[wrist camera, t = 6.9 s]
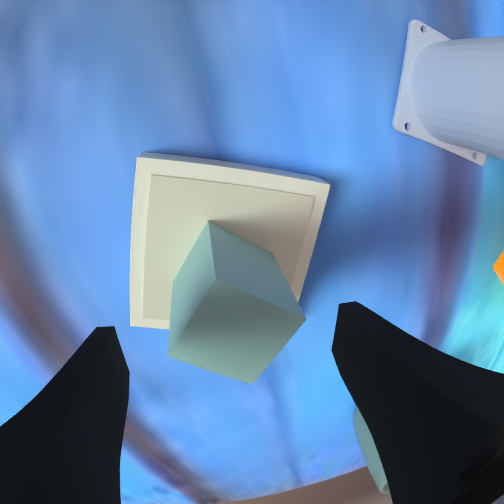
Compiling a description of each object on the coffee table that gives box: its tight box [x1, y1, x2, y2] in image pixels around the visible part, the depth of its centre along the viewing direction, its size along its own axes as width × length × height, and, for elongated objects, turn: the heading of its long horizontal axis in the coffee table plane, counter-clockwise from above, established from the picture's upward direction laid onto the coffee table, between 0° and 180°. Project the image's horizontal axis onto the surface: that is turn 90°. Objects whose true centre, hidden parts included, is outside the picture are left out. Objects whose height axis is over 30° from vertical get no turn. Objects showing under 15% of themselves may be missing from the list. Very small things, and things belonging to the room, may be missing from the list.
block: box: [168, 220, 306, 384], centre depth 15 cm, size 4×4×6 cm
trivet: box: [130, 152, 330, 329], centre depth 19 cm, size 10×10×3 cm
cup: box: [353, 406, 390, 494], centre depth 25 cm, size 8×8×10 cm
